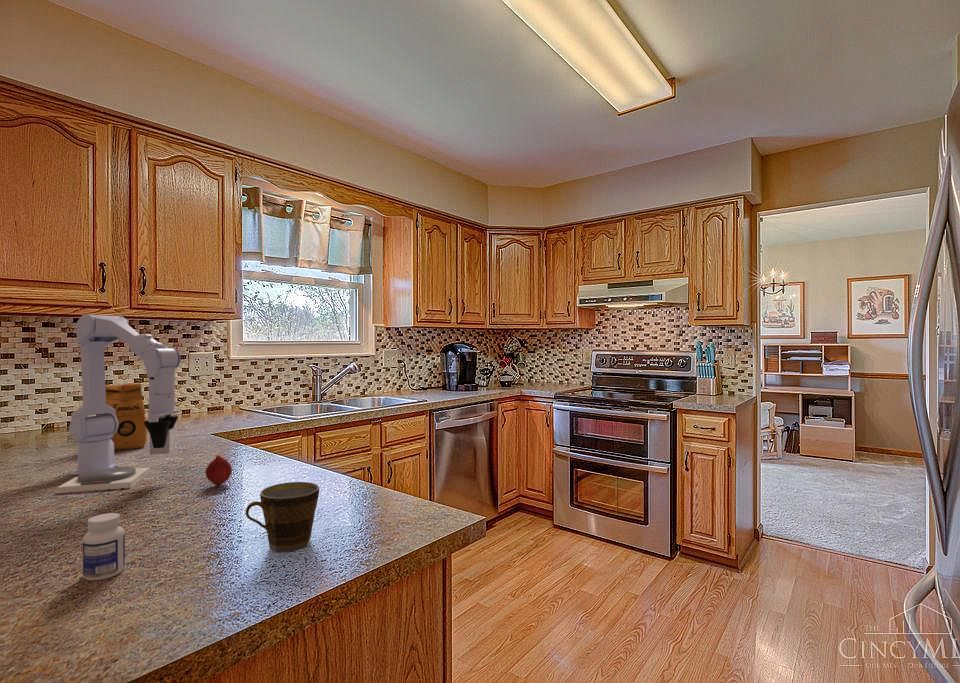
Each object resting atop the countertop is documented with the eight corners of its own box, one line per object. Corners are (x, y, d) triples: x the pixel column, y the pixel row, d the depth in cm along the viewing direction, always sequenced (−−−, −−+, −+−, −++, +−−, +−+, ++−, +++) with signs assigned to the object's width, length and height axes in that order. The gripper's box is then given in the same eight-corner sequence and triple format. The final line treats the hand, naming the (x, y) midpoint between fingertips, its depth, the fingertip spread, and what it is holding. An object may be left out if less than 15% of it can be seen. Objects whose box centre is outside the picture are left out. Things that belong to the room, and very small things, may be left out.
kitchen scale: (85, 477, 132) (85, 467, 132) (150, 472, 137) (150, 463, 137) (57, 493, 118) (57, 483, 118) (130, 487, 123) (130, 477, 123)
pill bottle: (98, 566, 80) (98, 511, 80) (132, 565, 80) (132, 510, 80) (73, 582, 75) (74, 523, 75) (110, 580, 75) (110, 522, 75)
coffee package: (148, 448, 168) (148, 384, 168) (102, 453, 160) (102, 386, 160) (144, 443, 176) (145, 382, 176) (101, 448, 168) (101, 384, 168)
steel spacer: (155, 450, 130) (155, 428, 130) (174, 449, 131) (174, 427, 131) (149, 454, 126) (149, 431, 126) (169, 453, 127) (169, 430, 127)
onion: (236, 483, 127) (236, 452, 127) (222, 489, 122) (222, 457, 122) (215, 482, 128) (215, 451, 128) (200, 488, 122) (200, 456, 122)
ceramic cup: (300, 530, 96) (300, 478, 96) (330, 543, 89) (330, 488, 89) (232, 551, 86) (232, 494, 86) (260, 568, 79) (260, 506, 79)
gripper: (171, 396, 123) (171, 450, 123) (186, 390, 137) (186, 439, 137) (138, 397, 121) (138, 452, 121) (157, 391, 135) (156, 441, 135)
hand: (161, 445), depth 129 cm, fingers closed on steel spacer, 4 cm apart
